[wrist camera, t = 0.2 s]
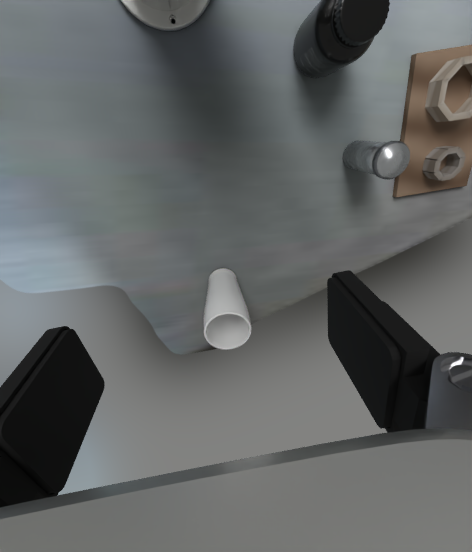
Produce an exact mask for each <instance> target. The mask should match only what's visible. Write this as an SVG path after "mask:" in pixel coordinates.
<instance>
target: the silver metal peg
mask: <svg viewBox="0 0 472 552" xmlns="http://www.w3.org/2000/svg"><path fill="white" fill-rule="evenodd" d="M409 160H410V150H409V148H408V146H407V145H406V144H405V143H403V142H400V141H390V142H373V141H354V142H352V143H350V144H349V145H348V146H347V147H346V149H345V150H344V153H343V162H344V164H345V165H346V166H347V167H348V168H351V169H355V170H359V171H363V172H366V173H370V174H374V175H376V176H377V177H379V178H383V179H393V178H395V177H397V176H399V175H400V174H401V173H402V172H403V171H404V170H405V169H406V167H407V166H408V163H409Z"/></svg>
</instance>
